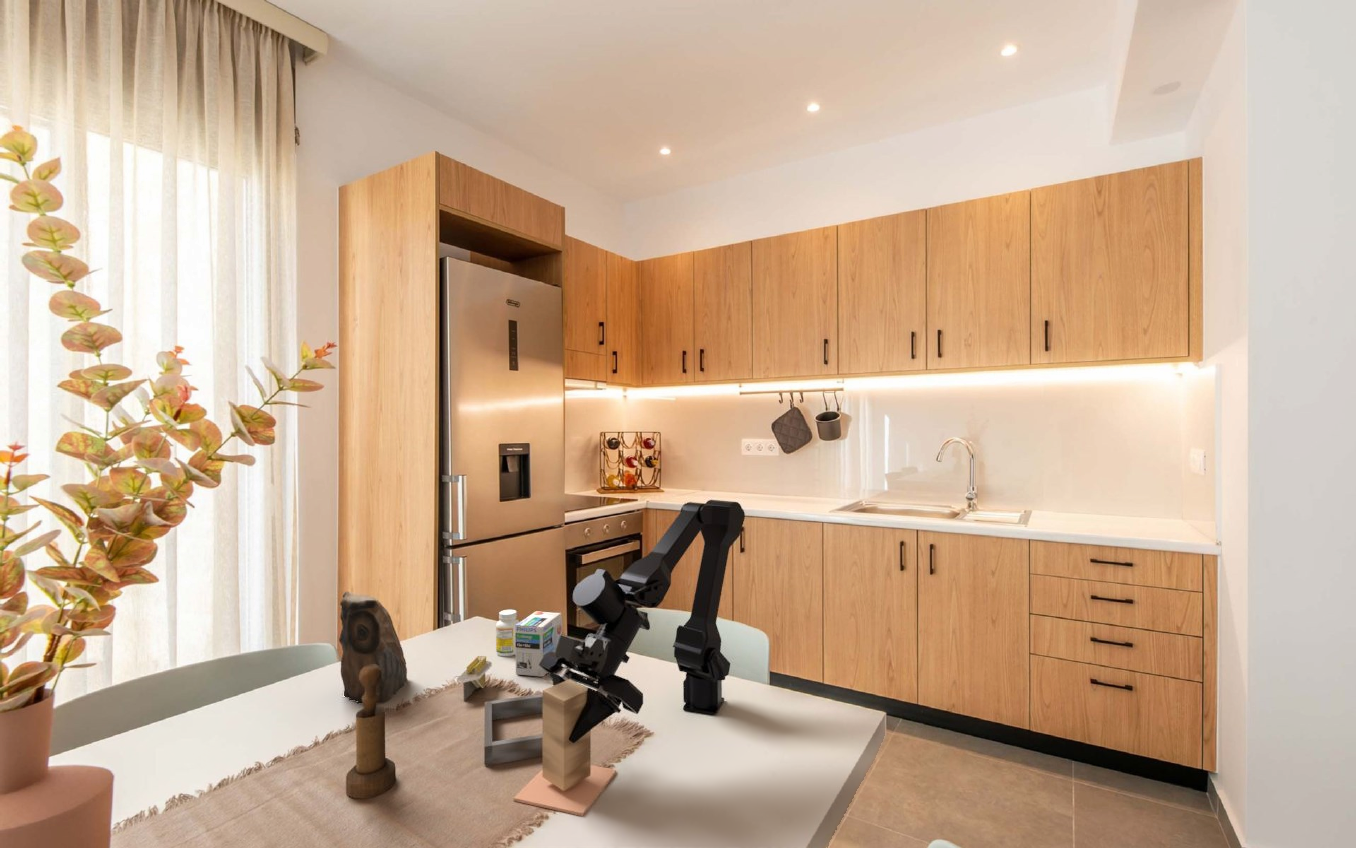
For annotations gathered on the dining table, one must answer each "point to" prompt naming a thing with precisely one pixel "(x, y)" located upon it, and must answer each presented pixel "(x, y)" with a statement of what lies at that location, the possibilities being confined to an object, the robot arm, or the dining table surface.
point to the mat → (566, 792)
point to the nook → (516, 746)
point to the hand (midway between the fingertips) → (559, 735)
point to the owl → (369, 647)
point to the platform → (474, 675)
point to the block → (564, 735)
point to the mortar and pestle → (370, 743)
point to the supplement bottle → (506, 633)
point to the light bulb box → (536, 641)
